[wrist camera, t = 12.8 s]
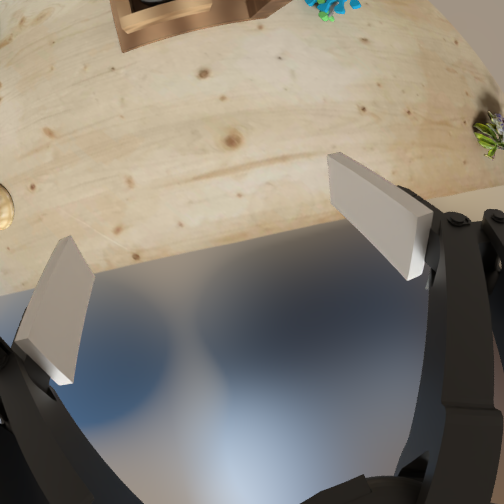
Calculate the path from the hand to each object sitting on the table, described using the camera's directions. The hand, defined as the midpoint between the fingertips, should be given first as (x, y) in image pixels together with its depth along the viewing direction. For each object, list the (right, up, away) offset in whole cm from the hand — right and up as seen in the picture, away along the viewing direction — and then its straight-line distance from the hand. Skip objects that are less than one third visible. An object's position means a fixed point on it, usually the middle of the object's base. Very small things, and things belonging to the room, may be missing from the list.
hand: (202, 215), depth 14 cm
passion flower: (+54, +25, +32) cm, 68 cm away
